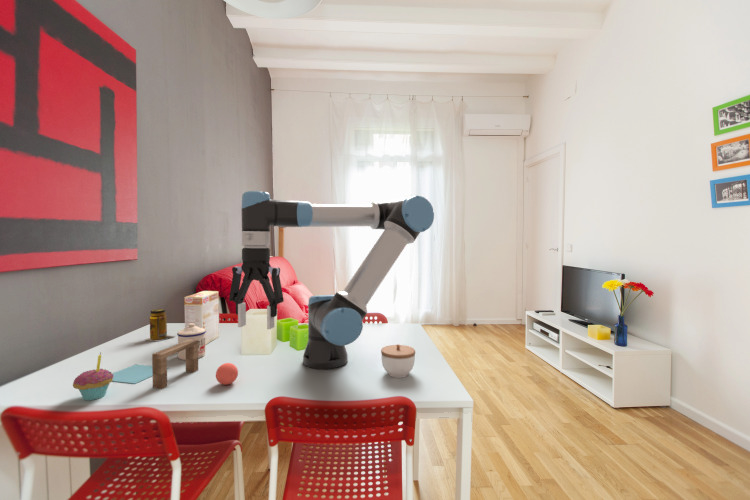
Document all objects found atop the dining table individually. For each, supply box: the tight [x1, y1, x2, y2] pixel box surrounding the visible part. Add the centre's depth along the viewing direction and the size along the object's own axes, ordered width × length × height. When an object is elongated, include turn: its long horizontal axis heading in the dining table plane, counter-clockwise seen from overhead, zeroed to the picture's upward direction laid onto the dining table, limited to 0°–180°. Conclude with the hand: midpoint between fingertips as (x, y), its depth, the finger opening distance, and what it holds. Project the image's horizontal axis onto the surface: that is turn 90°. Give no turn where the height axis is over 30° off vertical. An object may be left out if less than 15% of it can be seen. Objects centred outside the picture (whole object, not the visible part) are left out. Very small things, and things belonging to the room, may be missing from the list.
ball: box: [215, 362, 239, 386], centre depth 108 cm, size 6×6×6 cm
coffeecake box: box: [183, 290, 220, 346], centre depth 150 cm, size 15×7×20 cm, turn 178°
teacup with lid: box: [176, 323, 206, 361], centre depth 134 cm, size 12×9×12 cm
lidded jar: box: [380, 343, 416, 379], centre depth 117 cm, size 11×11×9 cm
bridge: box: [151, 339, 199, 390], centre depth 112 cm, size 3×15×10 cm, turn 167°
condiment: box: [146, 308, 176, 342], centre depth 154 cm, size 7×8×12 cm
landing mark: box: [112, 364, 170, 385], centre depth 115 cm, size 13×13×1 cm
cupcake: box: [72, 352, 114, 401], centre depth 99 cm, size 9×8×12 cm
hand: (256, 327), depth 106 cm, fingers open, 8 cm apart
